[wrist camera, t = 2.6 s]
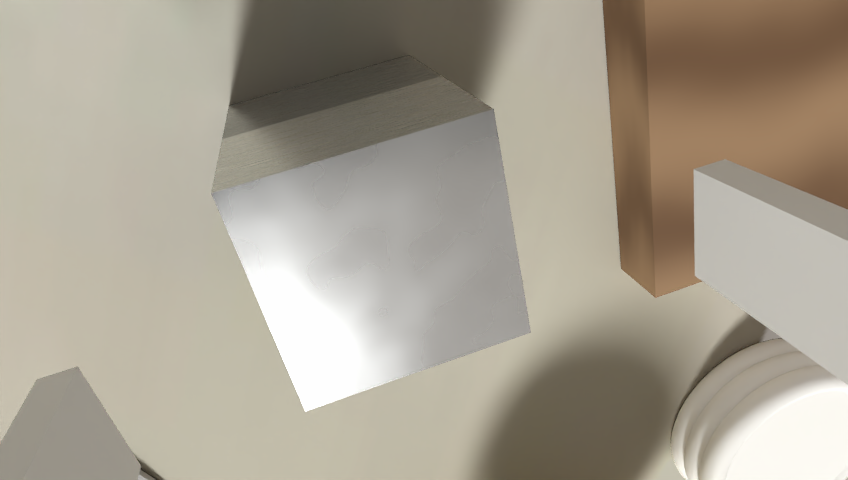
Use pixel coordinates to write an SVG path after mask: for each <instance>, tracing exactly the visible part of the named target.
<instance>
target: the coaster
mask: <svg viewBox="0 0 848 480" xmlns="http://www.w3.org/2000/svg"><path fill="white" fill-rule="evenodd" d="M671 453H672V457H673V460H674V463H675V465H676V467H677V469H678V471H679V472H680V474H681V475H682V476H683V477H684V478H685V479H686V480H845V479H846V478H847V477H848V385H847V384H846V383H844V382H843V381H841V380H840V379H839V378H837V377H836V376H834V375H833V374H832V373H830V372H829V371H827V370H826V369H825V368H823V367H822V366H820V365H819V364H818V363H816V362H815V361H813V360H812V359H811V358H809V357H808V356H806V355H805V354H804V353H802V352H801V351H799V350H798V349H797V348H795V347H794V346H792V345H791V344H790V343H788V342H787V341H785V340H784V339H783V338H778V339H772V340H768V341H764V342H760V343H757V344H755V345H752V346H749V347H747V348H745V349H743V350H741V351H739V352H737V353H735V354H734V355H732V356H730V357H729V358H727V359H726V360H724V361H723V362H722V363H720V364H719V365H718V366H716V367H715V368H714V369H713V370H712V371H710V372H709V373H708V374H707V375H706V376H705V377H704V378H703V379H702V380H701V381H700V382H699V383H698V385H697V386H696V387H695V388H694V389H693V391H692V392H691V393H690V395H689V396H688V398H687V399H686V400H685V402H684V404H683V406H682V408H681V409H680V411H679V413H678V416H677V418H676V421H675V424H674V427H673V431H672V436H671Z"/></svg>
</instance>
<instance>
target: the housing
mask: <svg viewBox="0 0 848 480" xmlns="http://www.w3.org/2000/svg"><path fill="white" fill-rule="evenodd" d="M211 194H212V196H213V199H214V201H215V203H216V205H217V208H218V210H219V212H220V215H221V217H222V219H223V222H224V224H225V226H226V229H227V231H228V233H229V236H230V238H231V240H232V243H233V245H234V247H235V249H236V252H237V254H238V256H239V259H240V261H241V263H242V266H243V268H244V270H245V273H246V275H247V277H248V280H249V282H250V284H251V287H252V289H253V291H254V293H255V296H256V298H257V300H258V303H259V305H260V307H261V310H262V312H263V314H264V317H265V319H266V321H267V324H268V326H269V328H270V330H271V333H272V335H273V337H274V340H275V342H276V344H277V347H278V349H279V351H280V354H281V356H282V358H283V361H284V363H285V365H286V368H287V370H288V372H289V374H290V377H291V379H292V381H293V384H294V386H295V388H296V391H297V393H298V395H299V398H300V400H301V402H302V405H303V407H304V409H305V411H308V410H311V409H314V408H316V407H319V406H322V405H325V404H328V403H331V402H334V401H336V400H339V399H342V398H345V397H348V396H351V395H354V394H356V393H359V392H362V391H365V390H368V389H371V388H374V387H376V386H379V385H382V384H385V383H388V382H391V381H394V380H396V379H399V378H402V377H405V376H408V375H411V374H414V373H416V372H419V371H422V370H425V369H428V368H431V367H433V366H436V365H439V364H442V363H445V362H448V361H451V360H453V359H456V358H459V357H462V356H465V355H468V354H471V353H473V352H476V351H479V350H482V349H485V348H488V347H491V346H493V345H496V344H499V343H502V342H505V341H508V340H511V339H513V338H516V337H519V336H522V335H525V334H528V333H531V331H530V325H529V319H528V313H527V307H526V301H525V295H524V289H523V283H522V277H521V271H520V265H519V259H518V253H517V247H516V241H515V235H514V229H513V222H512V216H511V210H510V204H509V198H508V192H507V186H506V180H505V174H504V168H503V162H502V156H501V150H500V144H499V138H498V132H497V126H496V120H495V114H494V109H493V108H491V107H490V106H488V105H487V104H485V103H483V102H482V101H480V100H479V99H477V98H475V97H474V96H472V95H471V94H469V93H468V92H466V91H464V90H463V89H461V88H460V87H458V86H457V85H455V84H453V83H452V82H450V81H449V80H447V79H446V78H444V77H442V76H441V75H439V74H438V73H436V72H435V71H433V70H431V69H430V68H428V67H427V66H425V65H423V64H422V63H420V62H419V61H417V60H416V59H414V58H412V57H411V56H409V55H408V56H404V57H401V58H397V59H393V60H390V61H386V62H383V63H379V64H376V65H372V66H368V67H365V68H361V69H358V70H354V71H351V72H347V73H344V74H340V75H336V76H333V77H329V78H326V79H322V80H319V81H315V82H311V83H308V84H304V85H301V86H297V87H294V88H290V89H287V90H283V91H279V92H276V93H272V94H269V95H265V96H262V97H258V98H254V99H251V100H247V101H244V102H240V103H237V104H233V105H230V106H229V109H228V114H227V119H226V123H225V128H224V133H223V138H222V143H221V148H220V153H219V157H218V162H217V167H216V172H215V177H214V182H213V187H212V191H211Z"/></svg>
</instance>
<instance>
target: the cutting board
mask: <svg viewBox="0 0 848 480" xmlns="http://www.w3.org/2000/svg"><path fill="white" fill-rule="evenodd" d="M603 12H604V27H605V41H606V56H607V70H608V85H609V99H610V114H611V128H612V142H613V157H614V171H615V186H616V200H617V215H618V229H619V244H620V258H621V269H622V270H623V271H625V272H626V273H627V274H628V275H629V276H631V277H632V278H633V279H634V280H635V281H636V282H638V283H639V284H640V285H641V286H642V287H643V288H645V289H646V290H647V291H648V292H649V293H651V294H652V295H653V296H654V297H655V298H656V297H659V296H662V295H665V294H668V293H671V292H673V291H676V290H679V289H682V288H685V287H688V286H690V285H693V284H696V283H699V282H702V281H701V280H700V279H699V278H697V277H696V276H695V250H694V169H696V168H699V167H702V166H705V165H708V164H711V163H714V162H717V161H721V160H724V159H726V160H729V161H731V162H733V163H736V164H738V165H741V166H743V167H746V168H748V169H750V170H753V171H755V172H758V173H760V174H763V175H765V176H767V177H770V178H772V179H775V180H777V181H780V182H782V183H784V184H787V185H789V186H792V187H794V188H797V189H799V190H801V191H804V192H806V193H809V194H811V195H814V196H816V197H818V198H821V199H823V200H826V201H828V202H831V203H833V204H835V205H838V206H840V207H843V208H845V209H848V0H603Z"/></svg>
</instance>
